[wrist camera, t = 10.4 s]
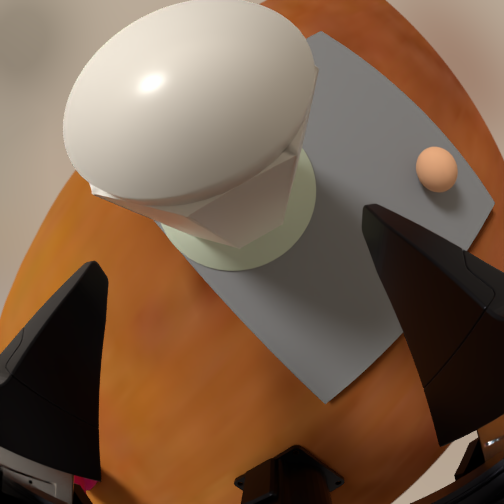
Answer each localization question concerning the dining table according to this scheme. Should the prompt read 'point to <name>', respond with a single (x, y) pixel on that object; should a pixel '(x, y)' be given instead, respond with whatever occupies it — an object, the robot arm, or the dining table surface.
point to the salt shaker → (196, 118)
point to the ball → (436, 169)
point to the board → (339, 226)
